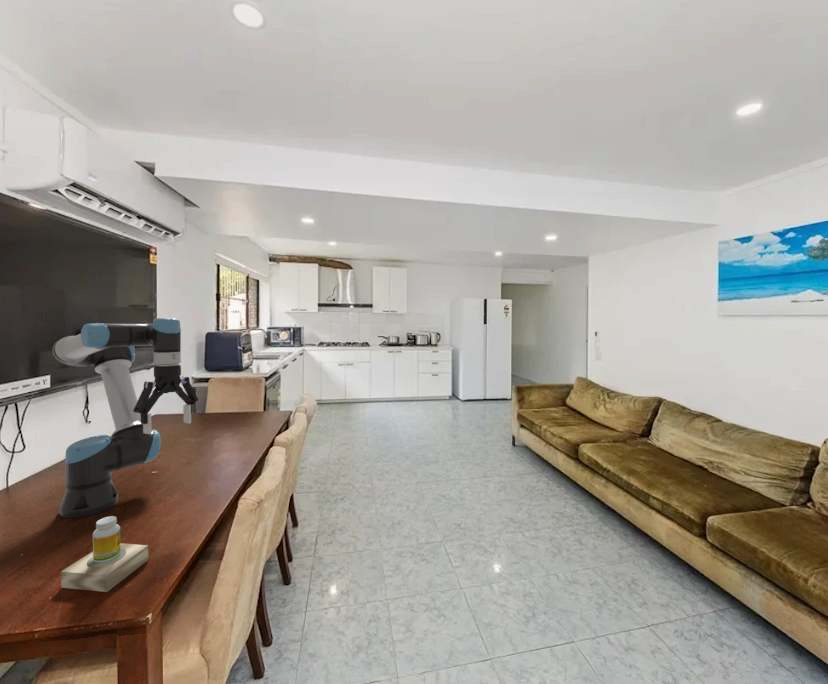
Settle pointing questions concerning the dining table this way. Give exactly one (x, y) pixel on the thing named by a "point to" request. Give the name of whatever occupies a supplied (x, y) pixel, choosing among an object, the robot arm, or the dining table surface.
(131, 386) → the robot arm
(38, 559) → the dining table surface
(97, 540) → the supplement bottle
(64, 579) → the pedestal
